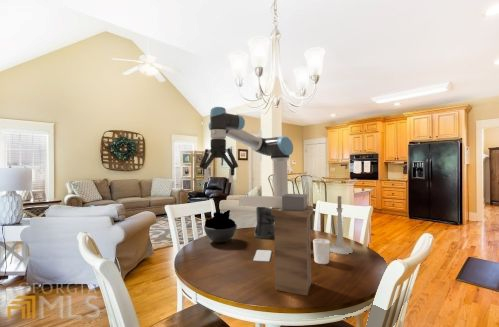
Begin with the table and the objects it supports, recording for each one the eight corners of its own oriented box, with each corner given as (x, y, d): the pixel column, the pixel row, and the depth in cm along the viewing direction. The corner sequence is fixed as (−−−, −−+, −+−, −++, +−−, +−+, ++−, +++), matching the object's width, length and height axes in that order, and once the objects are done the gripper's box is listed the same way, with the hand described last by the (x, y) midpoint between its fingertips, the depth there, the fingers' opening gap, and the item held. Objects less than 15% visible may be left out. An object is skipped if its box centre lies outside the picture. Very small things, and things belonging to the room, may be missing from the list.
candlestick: (323, 249, 135) (322, 195, 135) (335, 244, 143) (334, 193, 143) (345, 256, 125) (344, 197, 125) (357, 250, 133) (356, 195, 134)
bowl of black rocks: (207, 248, 138) (206, 215, 138) (202, 238, 157) (201, 209, 157) (240, 244, 145) (240, 212, 145) (232, 235, 164) (232, 207, 164)
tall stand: (279, 276, 102) (279, 204, 103) (313, 282, 97) (313, 206, 98) (271, 290, 91) (270, 209, 92) (309, 297, 86) (309, 211, 87)
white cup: (318, 257, 124) (318, 237, 124) (333, 261, 118) (332, 240, 118) (310, 261, 118) (309, 240, 119) (325, 266, 113) (324, 244, 113)
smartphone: (252, 260, 119) (256, 249, 134) (252, 262, 119) (256, 251, 134) (269, 261, 118) (271, 250, 133) (269, 263, 118) (271, 252, 133)
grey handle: (244, 203, 107) (244, 192, 107) (307, 207, 97) (307, 194, 97) (236, 206, 98) (236, 194, 99) (303, 210, 89) (303, 197, 89)
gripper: (192, 139, 121) (192, 182, 121) (238, 136, 112) (238, 183, 112) (200, 140, 128) (200, 181, 128) (244, 138, 119) (244, 182, 119)
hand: (218, 182), depth 120 cm, fingers open, 13 cm apart
